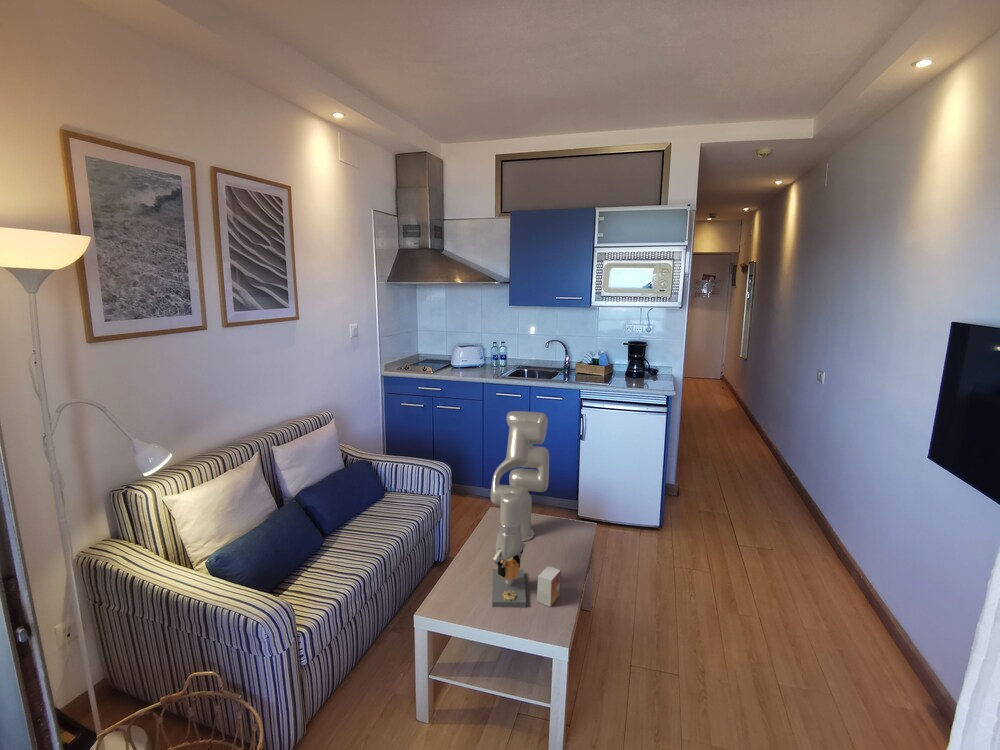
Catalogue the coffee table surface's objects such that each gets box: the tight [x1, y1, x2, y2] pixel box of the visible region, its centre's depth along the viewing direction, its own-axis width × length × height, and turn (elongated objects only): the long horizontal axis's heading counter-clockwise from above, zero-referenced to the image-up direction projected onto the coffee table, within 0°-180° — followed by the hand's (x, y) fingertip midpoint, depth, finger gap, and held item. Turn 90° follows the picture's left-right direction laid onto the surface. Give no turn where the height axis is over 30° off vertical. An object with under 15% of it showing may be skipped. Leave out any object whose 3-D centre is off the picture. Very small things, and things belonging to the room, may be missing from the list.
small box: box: [536, 565, 561, 608], centre depth 179 cm, size 8×6×10 cm
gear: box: [501, 558, 520, 580], centre depth 183 cm, size 7×7×4 cm
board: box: [491, 568, 527, 608], centre depth 184 cm, size 20×12×6 cm, turn 0°
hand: (509, 570), depth 183 cm, fingers closed on gear, 7 cm apart
